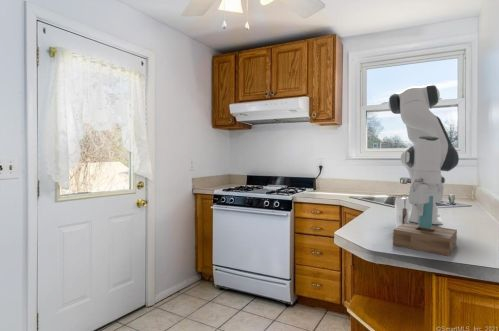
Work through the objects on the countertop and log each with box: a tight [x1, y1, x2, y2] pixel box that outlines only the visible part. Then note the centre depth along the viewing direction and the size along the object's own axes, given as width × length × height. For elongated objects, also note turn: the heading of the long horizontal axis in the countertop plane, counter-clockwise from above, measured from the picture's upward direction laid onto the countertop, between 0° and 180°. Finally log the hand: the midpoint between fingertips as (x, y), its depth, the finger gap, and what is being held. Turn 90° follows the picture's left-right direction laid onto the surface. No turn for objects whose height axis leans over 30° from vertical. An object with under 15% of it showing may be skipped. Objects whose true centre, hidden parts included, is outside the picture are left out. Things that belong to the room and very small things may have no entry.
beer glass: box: [394, 196, 412, 229], centre depth 140 cm, size 7×7×15 cm
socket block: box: [392, 222, 458, 257], centre depth 116 cm, size 18×18×6 cm
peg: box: [417, 196, 433, 228], centre depth 116 cm, size 4×4×12 cm
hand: (425, 214), depth 116 cm, fingers closed on peg, 5 cm apart
